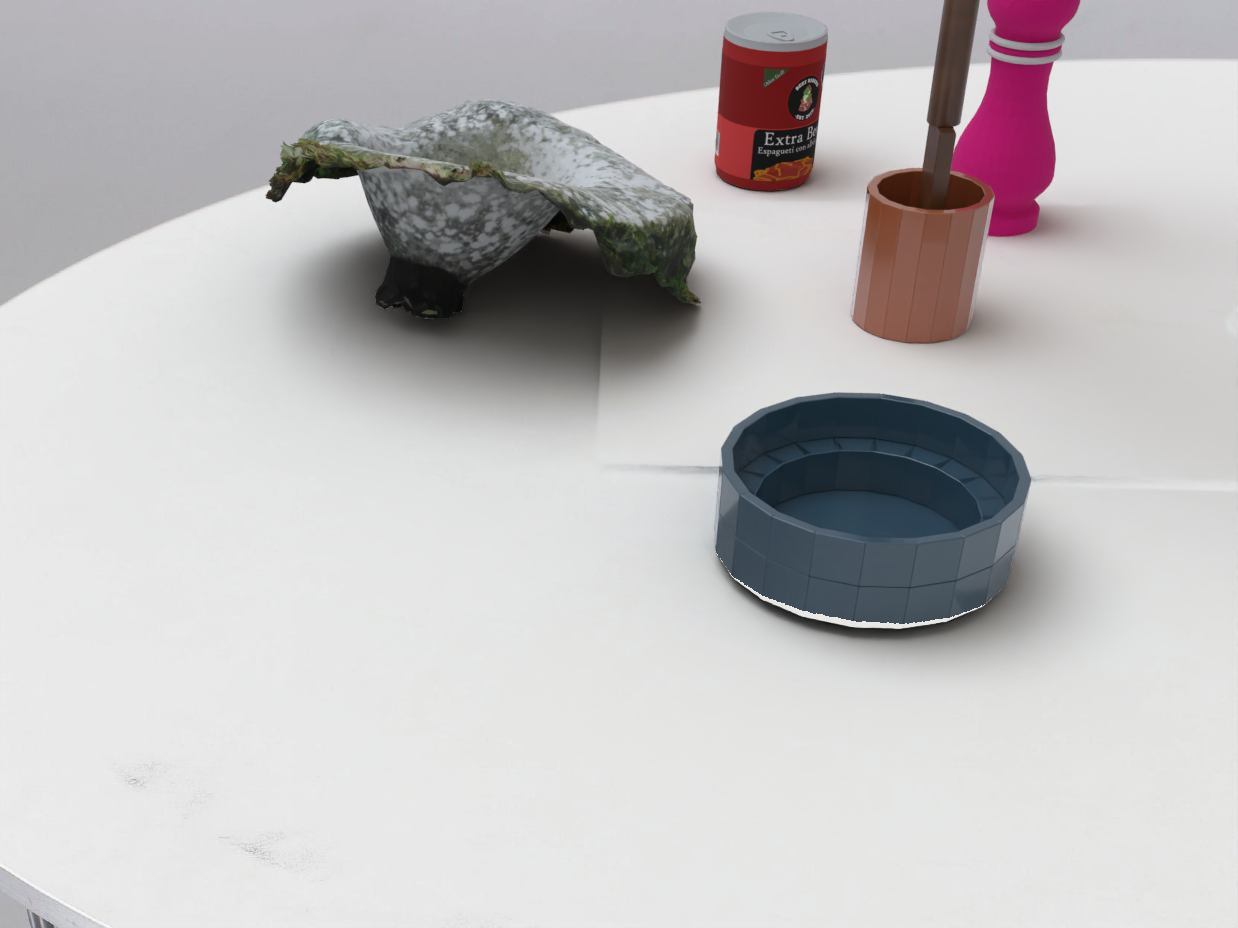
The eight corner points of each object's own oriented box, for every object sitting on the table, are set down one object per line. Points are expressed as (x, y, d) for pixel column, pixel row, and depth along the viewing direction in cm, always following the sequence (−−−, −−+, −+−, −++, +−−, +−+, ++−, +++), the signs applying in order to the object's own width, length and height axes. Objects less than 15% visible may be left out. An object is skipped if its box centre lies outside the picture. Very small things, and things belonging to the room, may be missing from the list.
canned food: (758, 200, 125) (772, 48, 118) (692, 169, 130) (701, 22, 123) (834, 178, 128) (852, 30, 121) (766, 149, 133) (779, 5, 126)
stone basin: (226, 300, 94) (243, 17, 90) (278, 299, 122) (292, 85, 119) (732, 354, 95) (770, 77, 91) (666, 341, 124) (692, 130, 120)
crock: (959, 302, 110) (983, 168, 105) (977, 353, 104) (1003, 214, 99) (844, 300, 111) (862, 166, 105) (856, 350, 105) (875, 212, 99)
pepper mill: (1024, 254, 116) (1086, -52, 104) (926, 234, 119) (974, -66, 107) (1055, 220, 121) (1117, -77, 108) (959, 201, 124) (1010, -89, 111)
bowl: (983, 485, 92) (1001, 395, 88) (1033, 644, 80) (1056, 548, 76) (709, 478, 93) (716, 388, 89) (718, 634, 81) (727, 538, 77)
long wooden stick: (940, 207, 105) (1008, -227, 89) (949, 231, 101) (1020, -214, 86) (908, 207, 105) (970, -227, 90) (916, 231, 102) (982, -213, 86)
